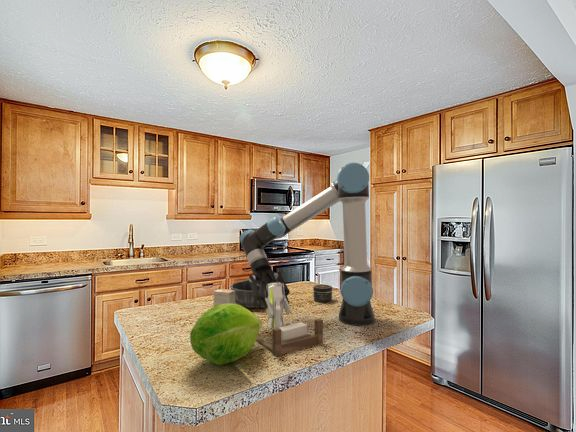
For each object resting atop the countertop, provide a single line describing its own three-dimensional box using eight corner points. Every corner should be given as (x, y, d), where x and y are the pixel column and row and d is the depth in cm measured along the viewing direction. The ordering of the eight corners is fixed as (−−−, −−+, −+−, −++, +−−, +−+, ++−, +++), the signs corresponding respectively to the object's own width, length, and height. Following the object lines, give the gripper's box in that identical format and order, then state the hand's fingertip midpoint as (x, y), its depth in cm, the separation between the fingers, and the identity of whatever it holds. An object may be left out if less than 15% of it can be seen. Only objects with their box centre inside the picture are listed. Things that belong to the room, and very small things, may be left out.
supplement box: (236, 320, 133) (236, 290, 133) (229, 324, 129) (229, 292, 129) (220, 318, 137) (220, 288, 137) (213, 321, 132) (213, 290, 132)
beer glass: (282, 329, 110) (282, 286, 110) (263, 328, 111) (263, 286, 111) (286, 322, 117) (286, 282, 117) (268, 321, 118) (268, 282, 118)
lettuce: (279, 357, 99) (279, 302, 99) (207, 386, 82) (207, 320, 82) (245, 340, 112) (245, 292, 112) (177, 362, 95) (177, 306, 95)
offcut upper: (277, 336, 104) (277, 327, 104) (300, 330, 110) (300, 322, 110) (283, 340, 101) (283, 331, 101) (307, 333, 107) (307, 324, 107)
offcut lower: (274, 346, 104) (274, 337, 104) (303, 338, 111) (303, 330, 111) (280, 350, 101) (280, 341, 101) (310, 342, 107) (310, 333, 107)
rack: (246, 337, 115) (246, 312, 115) (289, 328, 125) (289, 305, 125) (275, 359, 97) (275, 330, 97) (322, 346, 107) (322, 320, 107)
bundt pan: (241, 315, 142) (241, 292, 142) (223, 301, 165) (223, 282, 165) (291, 306, 155) (291, 286, 155) (268, 295, 178) (268, 277, 178)
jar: (333, 303, 160) (333, 288, 160) (313, 303, 161) (313, 288, 161) (331, 298, 170) (330, 284, 170) (312, 298, 171) (312, 284, 171)
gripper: (277, 266, 132) (299, 315, 118) (233, 271, 122) (252, 325, 108) (283, 255, 128) (307, 304, 114) (238, 259, 117) (259, 313, 104)
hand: (280, 314), depth 111 cm, fingers closed on beer glass, 7 cm apart
